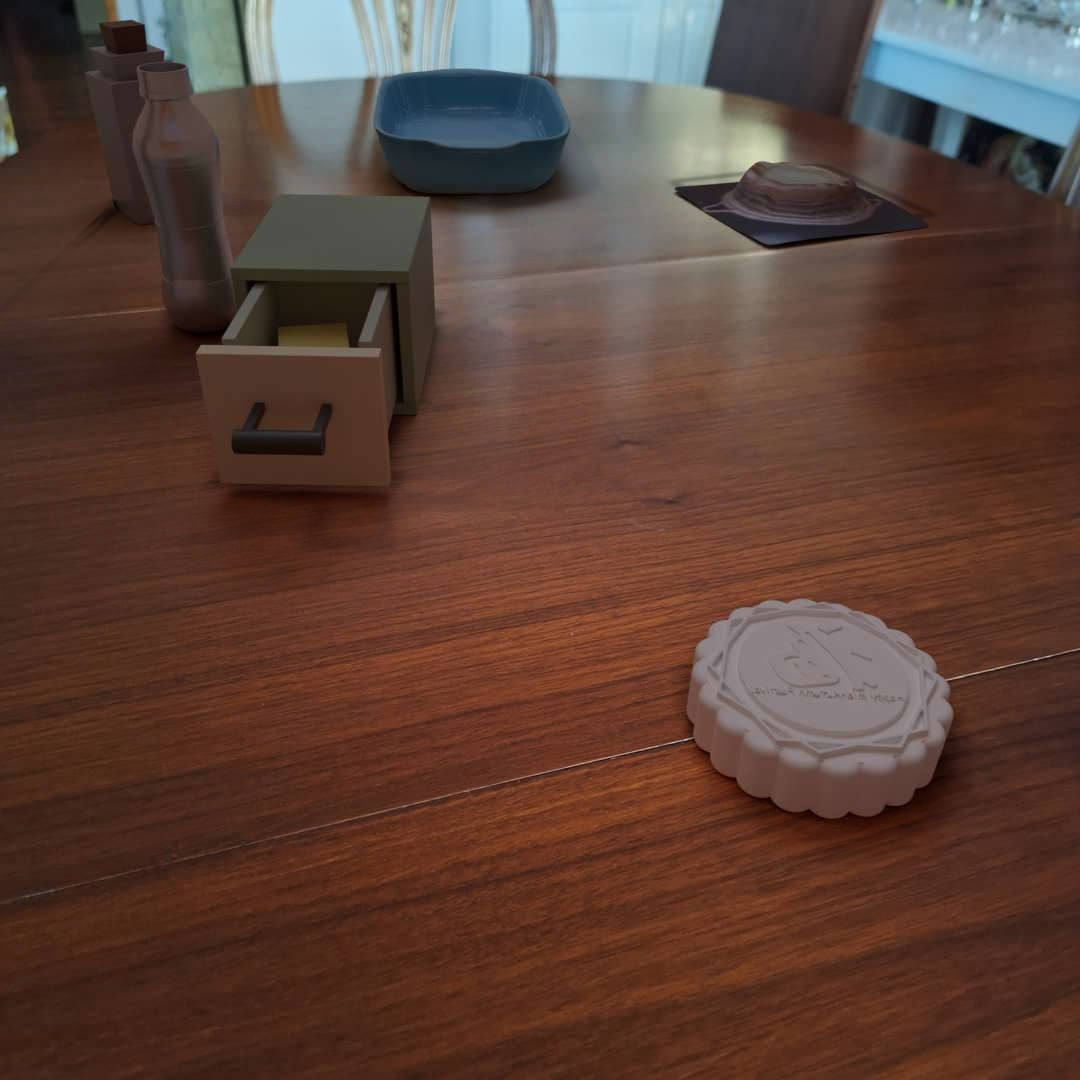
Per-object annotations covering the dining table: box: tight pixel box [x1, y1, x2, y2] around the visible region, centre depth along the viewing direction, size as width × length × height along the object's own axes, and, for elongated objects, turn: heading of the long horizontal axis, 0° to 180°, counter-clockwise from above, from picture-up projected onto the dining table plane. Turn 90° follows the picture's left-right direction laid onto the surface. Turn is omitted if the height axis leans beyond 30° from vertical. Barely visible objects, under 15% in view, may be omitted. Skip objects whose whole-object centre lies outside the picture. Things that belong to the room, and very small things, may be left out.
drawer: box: [195, 281, 402, 487], centre depth 66 cm, size 20×11×9 cm, turn 0°
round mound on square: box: [674, 160, 930, 246], centre depth 114 cm, size 21×20×4 cm
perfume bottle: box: [84, 19, 165, 226], centre depth 105 cm, size 7×7×18 cm
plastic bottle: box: [132, 61, 237, 333], centre depth 81 cm, size 6×7×20 cm
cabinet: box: [230, 193, 437, 416], centre depth 78 cm, size 16×12×11 cm
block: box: [278, 323, 350, 348], centre depth 69 cm, size 5×5×8 cm
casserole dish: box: [373, 68, 571, 195], centre depth 125 cm, size 37×22×7 cm, turn 5°
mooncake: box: [686, 598, 955, 820], centre depth 49 cm, size 12×12×4 cm
